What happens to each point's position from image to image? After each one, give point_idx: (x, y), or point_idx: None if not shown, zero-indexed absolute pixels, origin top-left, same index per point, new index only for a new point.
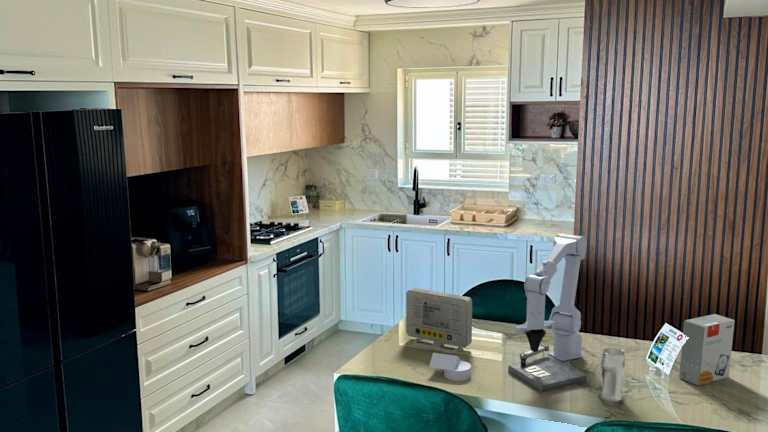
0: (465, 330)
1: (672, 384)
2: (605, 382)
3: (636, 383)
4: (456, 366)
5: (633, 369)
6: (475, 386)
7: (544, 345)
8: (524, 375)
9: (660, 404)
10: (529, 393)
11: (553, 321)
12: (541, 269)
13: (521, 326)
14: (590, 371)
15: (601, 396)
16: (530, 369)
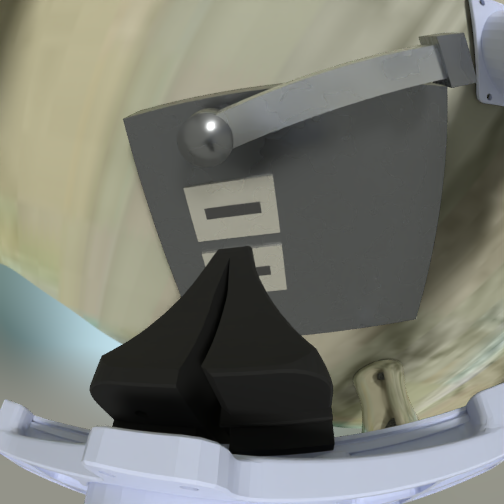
0: None
1: None
2: (362, 421)
3: (492, 326)
4: None
5: None
6: (7, 217)
7: (452, 64)
8: (165, 250)
9: (429, 396)
10: (160, 310)
11: (500, 462)
12: None
13: (38, 472)
14: (486, 230)
15: (357, 374)
16: (216, 217)
